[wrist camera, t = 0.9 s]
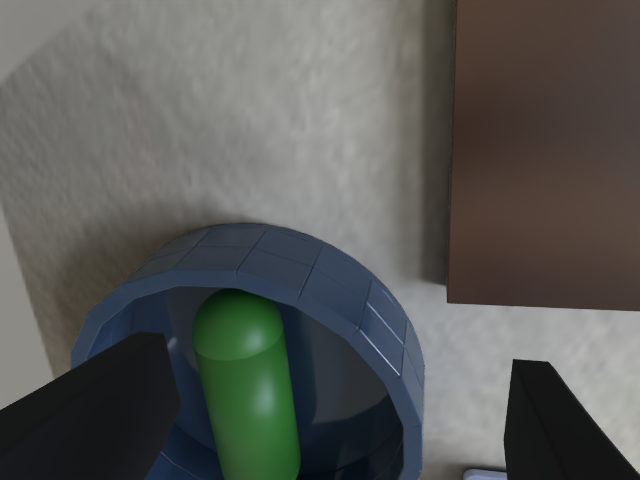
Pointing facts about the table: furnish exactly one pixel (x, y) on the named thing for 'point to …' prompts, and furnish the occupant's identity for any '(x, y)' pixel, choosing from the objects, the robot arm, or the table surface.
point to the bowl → (301, 343)
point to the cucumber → (247, 385)
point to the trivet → (545, 154)
